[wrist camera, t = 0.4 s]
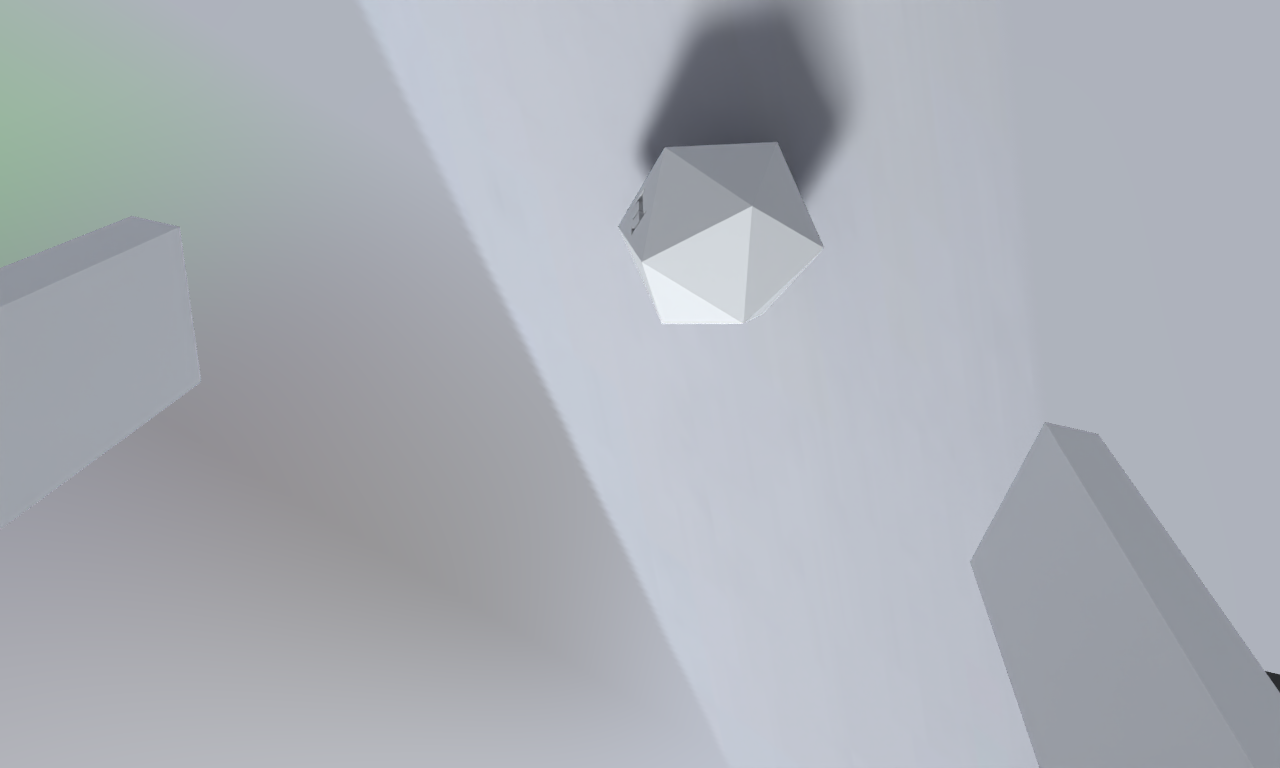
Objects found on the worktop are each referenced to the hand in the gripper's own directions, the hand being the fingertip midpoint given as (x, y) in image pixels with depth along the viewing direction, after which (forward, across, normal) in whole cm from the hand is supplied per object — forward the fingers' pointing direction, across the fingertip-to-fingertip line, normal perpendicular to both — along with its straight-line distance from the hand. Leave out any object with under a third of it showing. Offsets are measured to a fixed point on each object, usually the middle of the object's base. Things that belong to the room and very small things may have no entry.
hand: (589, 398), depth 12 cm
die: (+28, +2, -5) cm, 28 cm away
